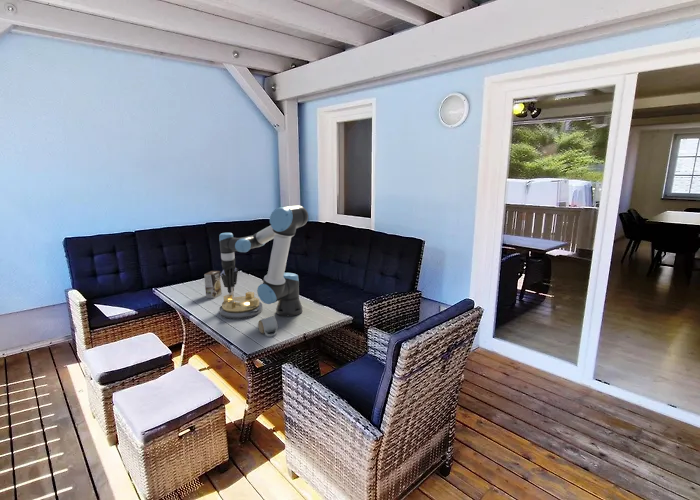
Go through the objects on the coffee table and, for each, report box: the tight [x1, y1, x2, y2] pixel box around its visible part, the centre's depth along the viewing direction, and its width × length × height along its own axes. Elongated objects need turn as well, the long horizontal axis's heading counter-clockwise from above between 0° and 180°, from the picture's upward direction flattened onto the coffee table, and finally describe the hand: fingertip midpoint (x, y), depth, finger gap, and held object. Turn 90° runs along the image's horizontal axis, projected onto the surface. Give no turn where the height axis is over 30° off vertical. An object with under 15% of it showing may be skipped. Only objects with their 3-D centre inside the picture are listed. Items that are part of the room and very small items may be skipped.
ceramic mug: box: [257, 315, 279, 338], centre depth 186 cm, size 11×8×8 cm
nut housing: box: [218, 301, 263, 320], centre depth 215 cm, size 24×24×3 cm
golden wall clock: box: [221, 291, 260, 313], centre depth 214 cm, size 21×21×6 cm
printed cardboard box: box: [203, 270, 223, 299], centre depth 239 cm, size 9×6×16 cm
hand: (231, 297), depth 219 cm, fingers closed
